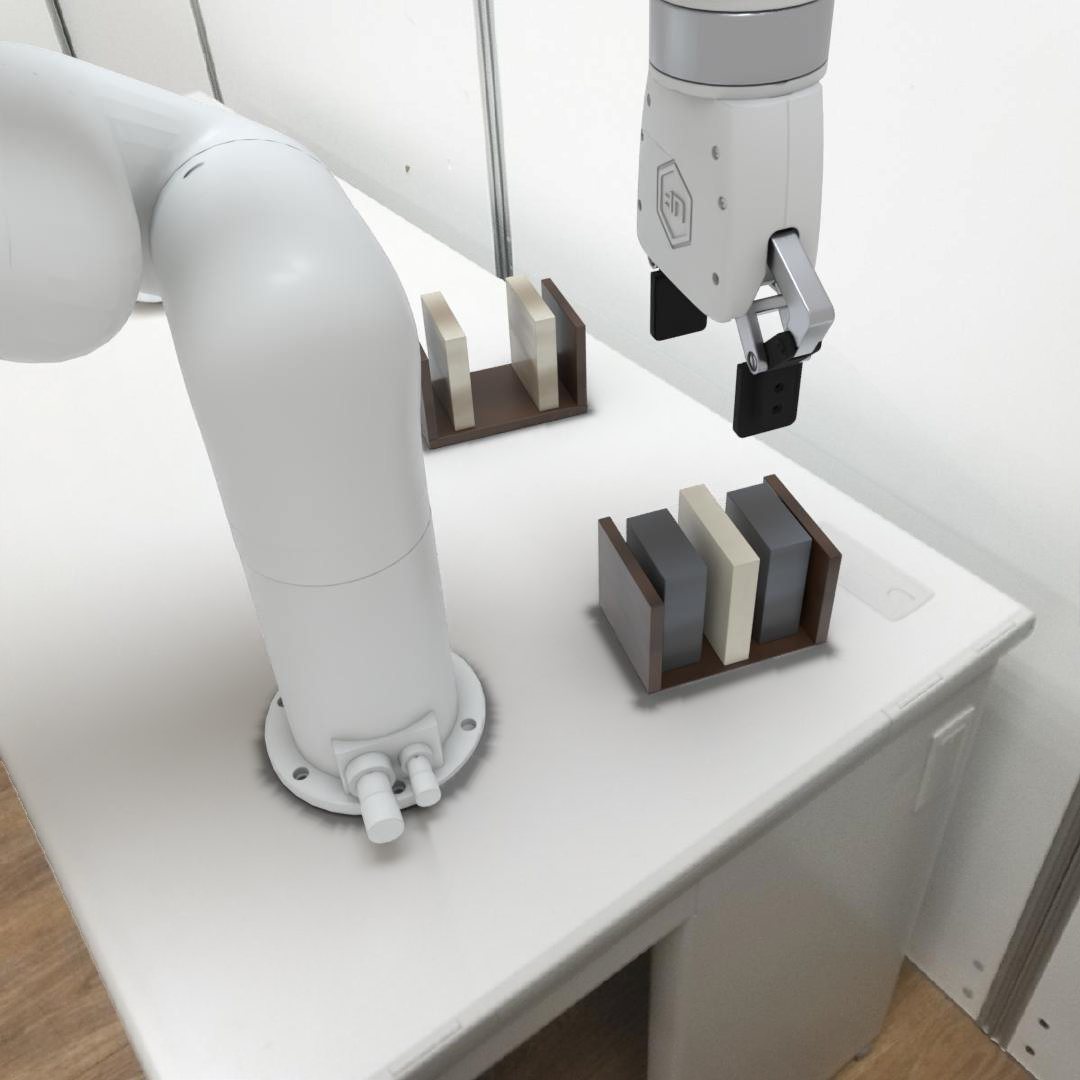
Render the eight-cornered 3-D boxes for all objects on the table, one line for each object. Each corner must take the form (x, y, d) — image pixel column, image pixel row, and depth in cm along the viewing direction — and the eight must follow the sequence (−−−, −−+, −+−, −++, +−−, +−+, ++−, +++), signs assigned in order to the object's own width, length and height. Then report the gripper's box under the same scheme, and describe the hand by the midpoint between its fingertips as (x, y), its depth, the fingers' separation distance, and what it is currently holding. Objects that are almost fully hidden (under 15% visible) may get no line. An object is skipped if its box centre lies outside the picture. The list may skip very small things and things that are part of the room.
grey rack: (825, 650, 67) (844, 546, 62) (648, 703, 65) (651, 599, 59) (763, 567, 73) (775, 465, 68) (598, 612, 71) (597, 510, 65)
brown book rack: (587, 412, 87) (585, 313, 82) (429, 449, 85) (416, 349, 79) (553, 361, 93) (549, 265, 87) (405, 395, 90) (390, 297, 84)
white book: (748, 659, 66) (760, 559, 61) (724, 666, 66) (733, 566, 60) (697, 581, 71) (703, 483, 66) (674, 587, 71) (678, 489, 66)
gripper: (580, -6, 52) (589, 317, 63) (757, 118, 40) (730, 493, 51) (725, -31, 54) (709, 288, 65) (939, 82, 41) (873, 452, 52)
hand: (718, 378), depth 58 cm, fingers open, 9 cm apart
